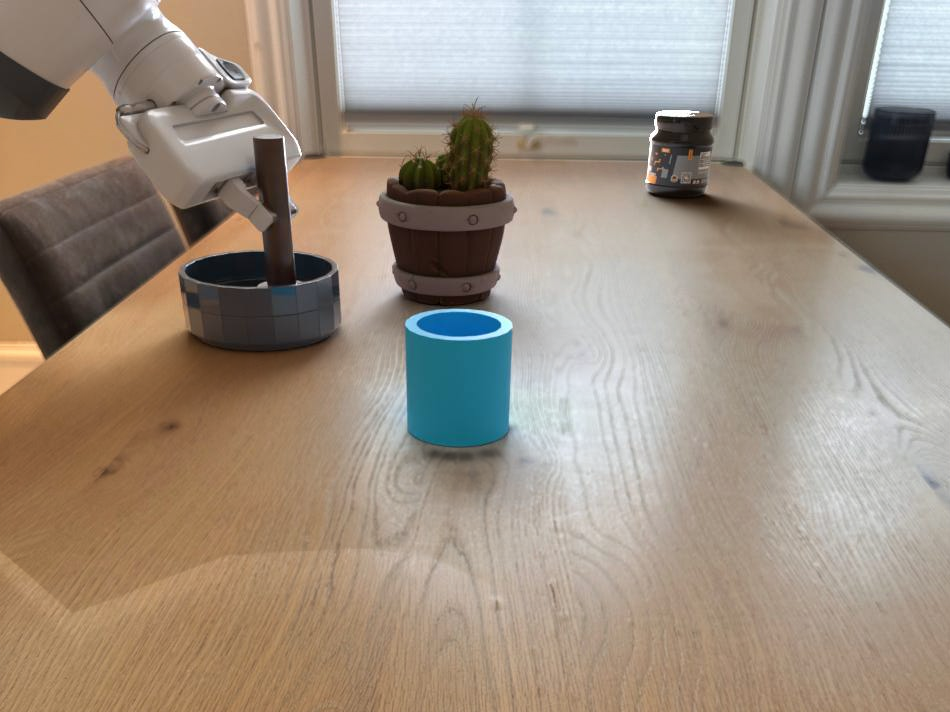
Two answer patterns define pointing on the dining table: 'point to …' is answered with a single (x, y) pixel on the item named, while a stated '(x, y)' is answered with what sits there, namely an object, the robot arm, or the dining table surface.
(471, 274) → the flowerpot
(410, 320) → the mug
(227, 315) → the bowl
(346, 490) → the dining table surface
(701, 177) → the supplement container
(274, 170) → the stick
